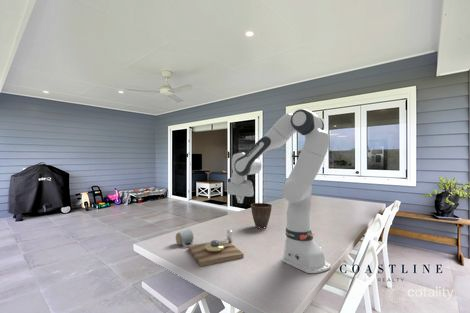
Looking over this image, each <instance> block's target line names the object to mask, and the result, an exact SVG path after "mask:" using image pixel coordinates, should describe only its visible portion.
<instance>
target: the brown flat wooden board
mask: <svg viewBox="0 0 470 313" xmlns="http://www.w3.org/2000/svg"><path fill="white" fill-rule="evenodd" d="M210 242H211V241H208V242H204V243H197V244H193V245H191V244H189V245H190V246H189V247H188V251H189V252H190V254H191V255H192V257H193V258H194V260H195V261H196V263H197V264H198V266H199V267H204V266H209V265H214V264H220V263H224V262H229V261H234V260H240V259H244V256H245V254H244V252H242V251H241V250H240V249H238V248H237V247H236V246H235V245H234V244H232V243H226V244H224V250H223V251H221V252H218V253H210V252H207V251H205V245H206V244H207V243H210ZM239 258H240V259H239Z"/></svg>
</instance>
